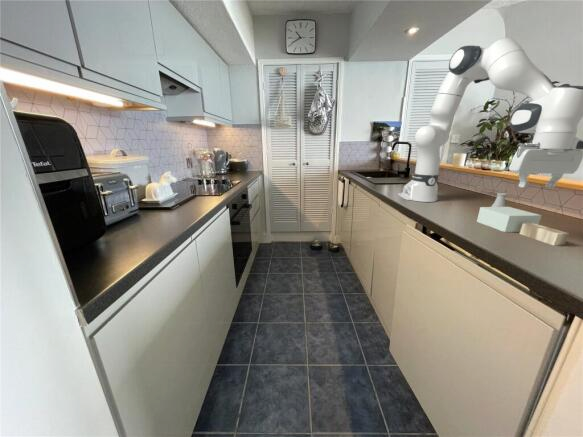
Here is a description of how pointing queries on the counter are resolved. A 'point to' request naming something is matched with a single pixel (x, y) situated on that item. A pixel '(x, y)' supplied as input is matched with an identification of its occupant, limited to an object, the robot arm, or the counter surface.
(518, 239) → the counter surface
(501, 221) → the sage step
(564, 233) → the birch block
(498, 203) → the flask
